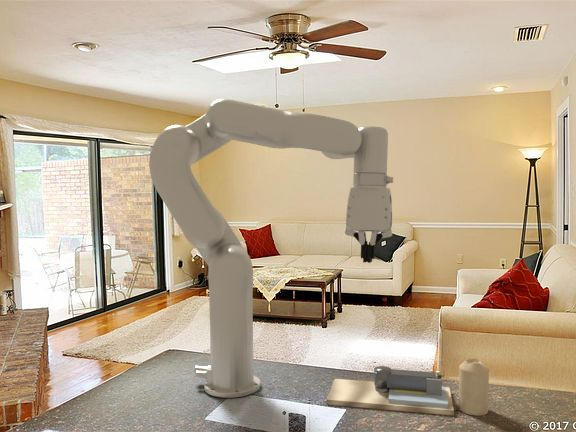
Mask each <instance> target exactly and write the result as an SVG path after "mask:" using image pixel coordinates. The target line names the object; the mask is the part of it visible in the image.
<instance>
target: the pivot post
mask: <svg viewBox="0 0 576 432" xmlns="http://www.w3.org/2000/svg"><path fill="white" fill-rule="evenodd" d="M375 390H376V391H377V392H380V393H388V392H389V390H390V388H381V387H375Z"/></svg>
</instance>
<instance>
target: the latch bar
mask: <svg viewBox="0 0 576 432" xmlns="http://www.w3.org/2000/svg"><path fill="white" fill-rule="evenodd" d="M373 368H374V369H373V373H374V375H373V378H374V379H373V382H374V385H375V387H381V388H397V389H409V390H420V391H426V378H435V379H442V378H444V377H445V374H446V372H445V370H443V369H436V370H435V372H433V371H422V370H419V371H418V370H410V369H407V370H406V369H398V368H397V369H395V368H391V367H389V366H385V365H380V366H379V365H378V366H375V367H373Z"/></svg>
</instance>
